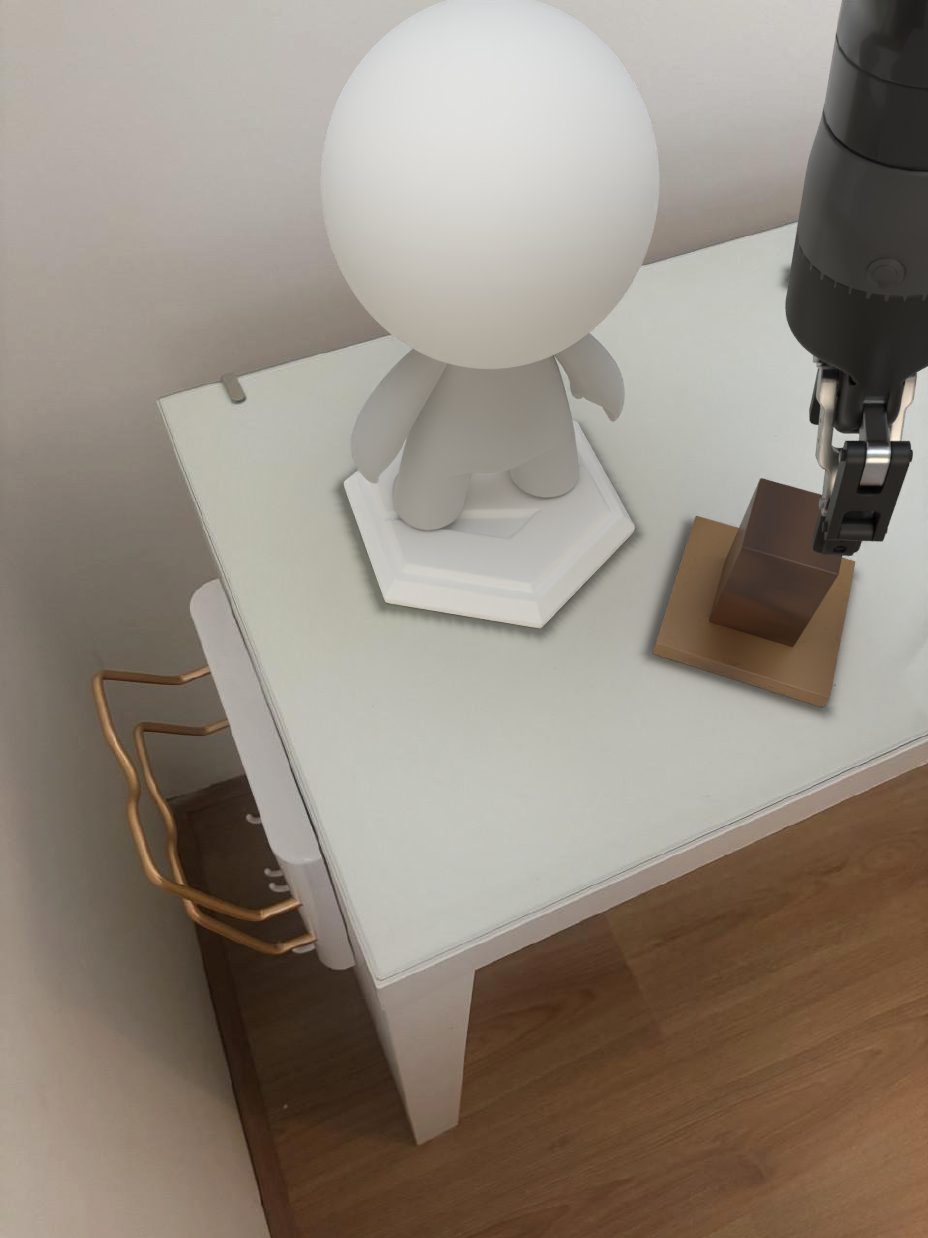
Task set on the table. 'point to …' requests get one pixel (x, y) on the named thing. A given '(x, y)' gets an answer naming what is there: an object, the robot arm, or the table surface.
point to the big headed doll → (488, 297)
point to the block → (761, 598)
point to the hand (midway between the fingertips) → (831, 481)
